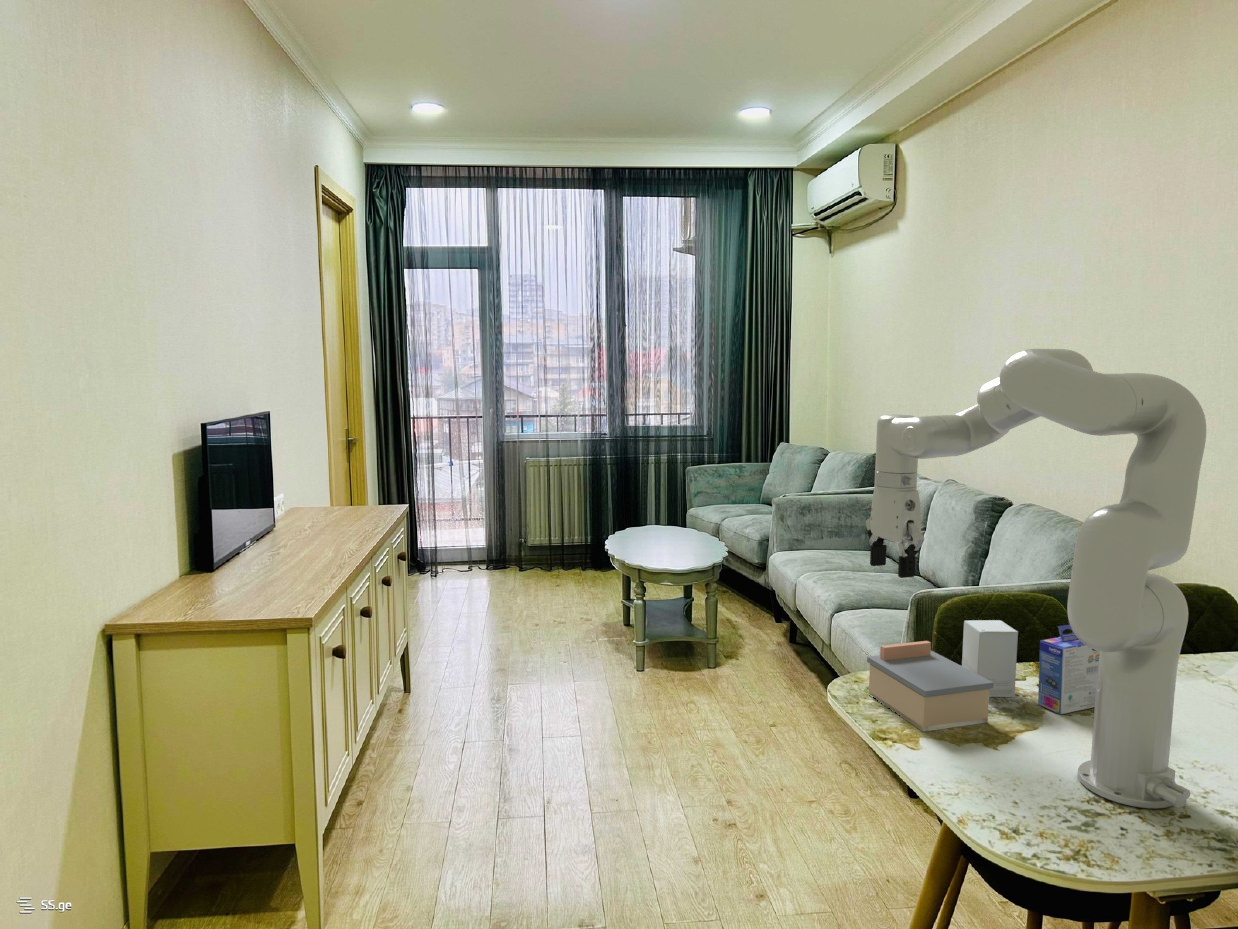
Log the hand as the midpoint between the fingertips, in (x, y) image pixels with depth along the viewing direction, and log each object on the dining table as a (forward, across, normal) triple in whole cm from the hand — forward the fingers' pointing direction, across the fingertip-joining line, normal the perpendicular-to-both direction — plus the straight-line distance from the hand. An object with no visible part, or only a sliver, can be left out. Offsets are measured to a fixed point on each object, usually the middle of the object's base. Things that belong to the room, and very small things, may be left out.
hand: (891, 570), depth 157 cm
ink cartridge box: (+22, -18, -25) cm, 38 cm away
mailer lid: (+16, -12, 0) cm, 20 cm away
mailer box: (+22, -12, 0) cm, 25 cm away
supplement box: (+23, -8, -16) cm, 29 cm away
